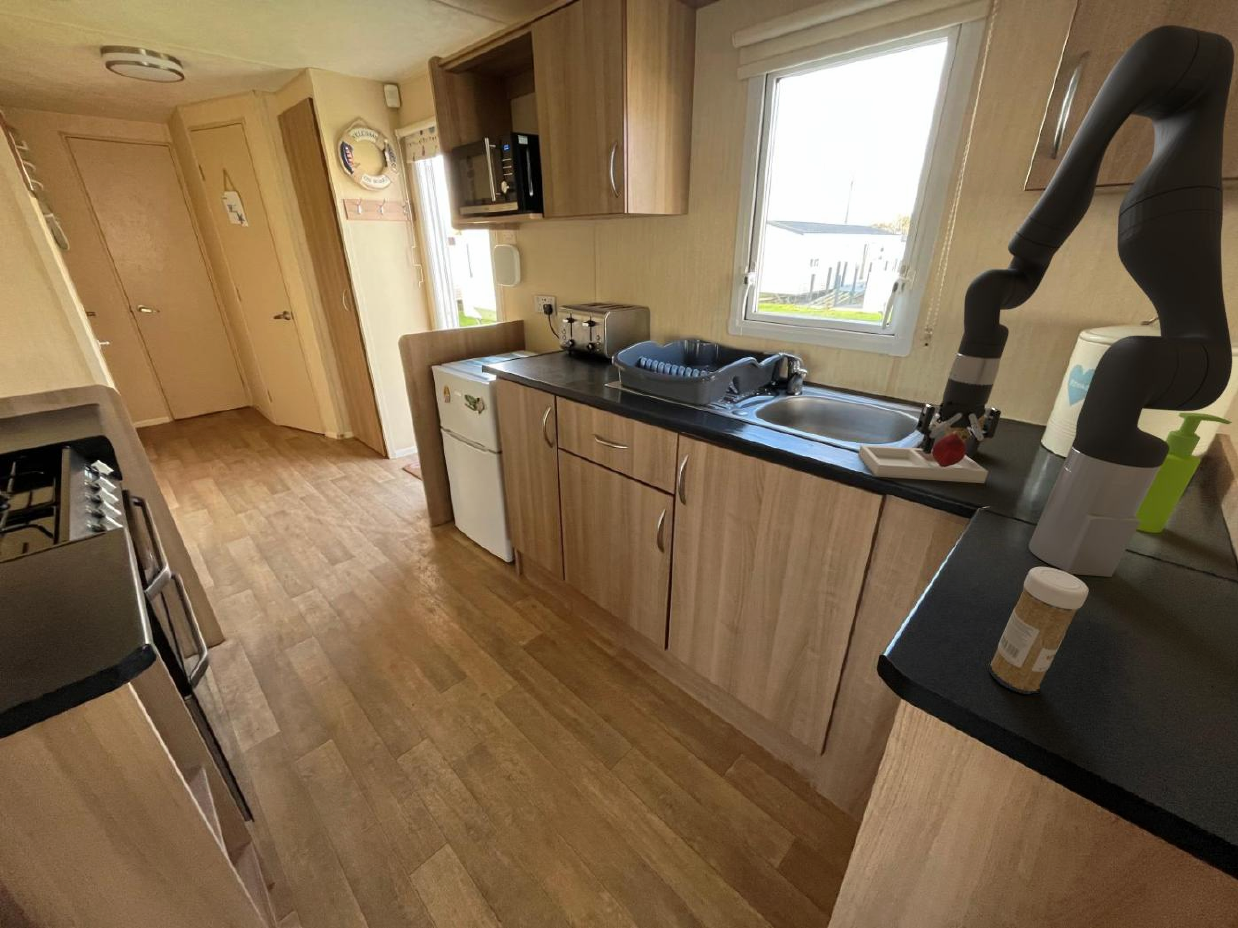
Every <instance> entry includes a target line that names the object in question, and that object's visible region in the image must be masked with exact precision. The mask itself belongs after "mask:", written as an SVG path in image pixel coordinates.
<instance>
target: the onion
mask: <svg viewBox="0 0 1238 928" xmlns="http://www.w3.org/2000/svg"><path fill="white" fill-rule="evenodd" d="M932 449H933V450H932V454H933V457H934V459H935V460H936V462H937V463H938V464H939V465H940V466H941V467H947V466H951V465H954V464H956V463H958V462H960V461H961V460H962V459H963V458H964V456H965V453H966V449H965V445H964V442H963V441H962V440H961V439H960V438H959V437H958V432H956V431H954V432H953V433H952V434H951V435H949V436H945V435H944V436H943V437H941V438H939V439H937V441H936V442H934V444H933V448H932Z"/></svg>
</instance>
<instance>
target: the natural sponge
mask: <svg viewBox="0 0 1238 928" xmlns="http://www.w3.org/2000/svg"><path fill="white" fill-rule="evenodd" d="M984 419H985V417H984V415H983V416H982V417H981V418H980V419H978V420H977V421H978V423H979V425H980V427H981V430H982V426H983V423H984ZM954 431H956V432H958V437H959V438H960V439H961V440H962V441H963V442H964V445H965V447H966V444H967V441H968V438H969V437H971V434H970V432H969V430H968V428H967V429H966V428H960V427H957V428H950V427H948V428H947V429H946V430H944V431H943V434H944V437H945V436H949V435H951V434H952V433H953V432H954ZM988 439H989V438H984V439H983V440H981V441H980V444H979V446H980V445H982V444H984V443H985V442H987V441H988Z"/></svg>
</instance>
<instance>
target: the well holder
mask: <svg viewBox="0 0 1238 928" xmlns="http://www.w3.org/2000/svg"><path fill="white" fill-rule="evenodd" d="M932 450H933V448H932ZM857 456H858V457H859V459H860V460H861V461H862V462H863V463H864V465H865V466H866V467H867V468H868V469H869V470H870V472H871V473H872V474H873V475H874V476H875V477H881V478H894V479H895V478H896V479H898V478H899V479H913V480H927V481H928V480H930V481H945V482H961V483H962V482H963V483H974V484H975V483H976V484H977V483H978V484H979V483H980V484H985V482H986V479H987V476H988V473H989V471H988V470H987V469H985V468H984V467H982V466H981V465H980V464H978V463H977V462H976V461H974V460H973V459H971V457H968V456H966V455H965V456H964V458H963V459H962V460H961V461H960V462H958V463H956V464H954V465H951V466H947V467H941V466H940V465H939V464H938V463H937V462H936V460H935V459H934V457H933V454H932V451H931V454H925V453H924V452H923V450H922V449H921V447H920V448H917V447H901V446H900V447H899V446H885V445H884V446H882V445H881V446H880V445H864V444H863V445H862V444H861V445H859V450H858V454H857Z"/></svg>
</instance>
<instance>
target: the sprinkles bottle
mask: <svg viewBox="0 0 1238 928" xmlns="http://www.w3.org/2000/svg"><path fill="white" fill-rule="evenodd" d="M1024 579H1025V580H1024V582H1023V587H1022V588H1023V589H1022V592H1021V594H1020V597H1019V599H1018V601H1017V603H1016V605H1015V607H1014V608H1013V610H1012V613H1011V615H1010V617H1009V619H1008V622H1007V624H1006V626H1005V629H1004V630H1003V632H1002V635H1001V638H1000V640H999V642H998V646H997V650H996V651H995V654H994V656H993V658H992V661H991V664H990V663H989V664H990V665H991V667H992V670H993V671H994V673H995V674H997V676H998V677H1000V678H1001V679H1002V680H1003V681H1005V682H1006V683H1009V685H1011V686H1013V687H1015V688H1017V689H1021V690H1025V691H1026V690H1027V691H1029V692H1030V691H1036V690H1037V689H1039V690H1040V688H1041V686H1039V685H1041V683H1042V681H1043V678H1044V677H1045V675H1046V673H1047V670H1048V669H1050V667H1051V664H1052V663H1053V660H1054V658H1055V656H1056V654H1057V652H1058V650H1059V648H1060V646H1061V644H1062V642H1063V640H1064V638H1065V635H1066V632H1067V631H1068V628H1069V626H1070V624H1071V623H1072V621H1073V618H1074V616H1075V615H1076V612H1077V611H1078V610H1079V609H1081V607H1083V606H1084V603H1086V602H1085V601H1086V599H1087V597H1088V595H1089V590H1090V589H1089V587H1088V586H1087V585H1086V583H1085V582H1084V581H1082V580H1081V579H1080V578H1078V577H1076V576H1074V574H1068V573H1066V572H1064V571H1063V570H1061V569H1057V568H1055V567H1054V568H1053V567H1047V566H1036V567H1033V568H1031V569H1030V570H1029V571H1028V572H1027V575H1026V577H1025V578H1024Z"/></svg>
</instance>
